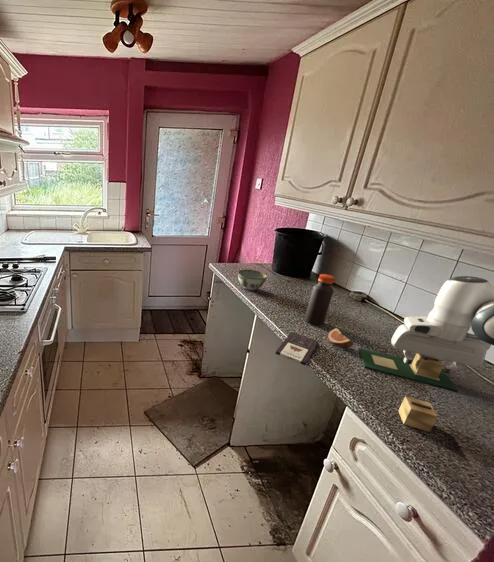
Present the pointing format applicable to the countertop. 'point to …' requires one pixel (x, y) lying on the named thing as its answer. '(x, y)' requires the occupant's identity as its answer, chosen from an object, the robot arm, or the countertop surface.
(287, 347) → the chocolate bar
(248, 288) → the bowl
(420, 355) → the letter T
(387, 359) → the word mat
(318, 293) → the bottle
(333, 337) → the fruit slice
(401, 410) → the light wooden cube
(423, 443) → the countertop surface
